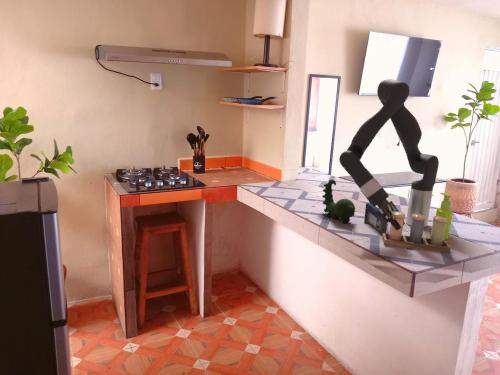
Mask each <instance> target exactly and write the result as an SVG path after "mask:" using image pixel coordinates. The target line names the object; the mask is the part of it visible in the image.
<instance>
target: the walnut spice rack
mask: <svg viewBox="0 0 500 375" xmlns="http://www.w3.org/2000/svg"><path fill="white" fill-rule="evenodd" d="M409 236H410V235H406V234H405V235H404V234H402V235H401V241H395V240H388V237H389V232H388V233H387V232H386V233H383V234H382V237H381V238H382V243H383V246H392V247H398V248H399V247H400V248H406V249H413V250H421V251H431V252H439V253H447V254H450V253H451V250H452V249H451V248H452V247H451V246H450V245H449V244H450V243H448V242H447V240H443V246H437V245H429V243H430V237H423V236H422V242H421V244H420V243H412V242H409Z"/></svg>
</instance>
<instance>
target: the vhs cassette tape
mask: <svg viewBox="0 0 500 375" xmlns="http://www.w3.org/2000/svg"><path fill="white" fill-rule="evenodd" d="M378 210H379V207H378V206H377V205H376V206H375V207H373V206H372V205H371V203H370V202H366V203H365V211H364V222H363V224H364V225H368V226H371V227H372V228H374V230H376V231H377V232H379V233H380V235H383V233H387V228H388V223H387V222H386V221H385V220H384V218H383V217H382V216H381V215H380V214H379V213H378Z"/></svg>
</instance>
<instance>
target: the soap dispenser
mask: <svg viewBox="0 0 500 375" xmlns="http://www.w3.org/2000/svg"><path fill="white" fill-rule="evenodd" d="M439 195H442V196H444V198H443V200H442V201H441V203H440V208H436V214H435V216H442V217H445V218H447V222H446V228H445V234H444V240H446V241H447V240H448V239H449V235H450V232H451V231H450V230H451V224H452V218H453V212H454V211H452V210H450V208H451V202H450V201H449V200H450V198H451V197H452V195H451V194H449V193H447V192H440V194H439Z"/></svg>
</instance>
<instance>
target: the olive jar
mask: <svg viewBox="0 0 500 375" xmlns="http://www.w3.org/2000/svg"><path fill="white" fill-rule="evenodd" d="M446 222H447V218H445V217H442V216H436V215H433V217H432V226H431V231H430V232H431V233H430V237H429V238H430V243H429V245H437V246H443V240H444V234H445V228H446Z"/></svg>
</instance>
